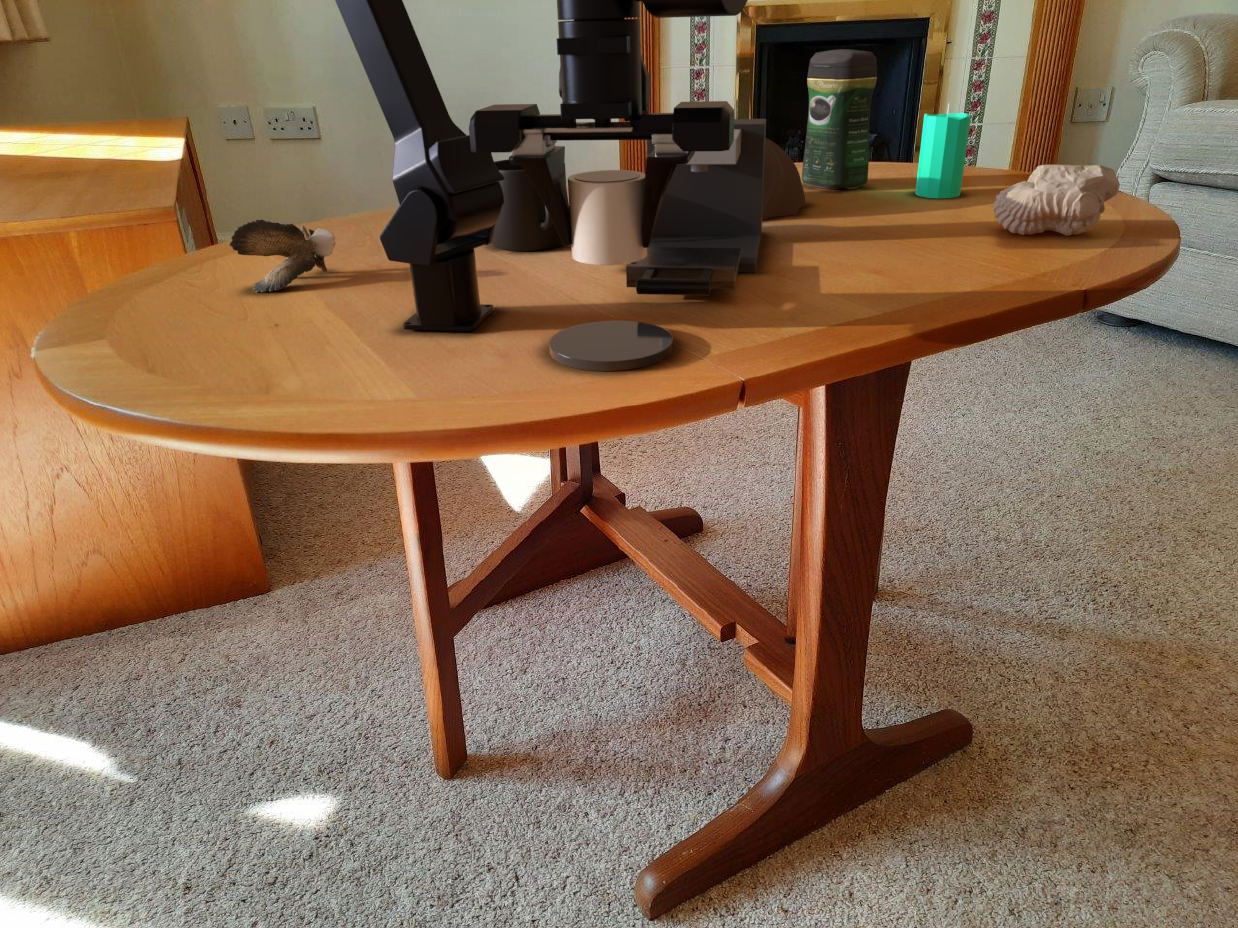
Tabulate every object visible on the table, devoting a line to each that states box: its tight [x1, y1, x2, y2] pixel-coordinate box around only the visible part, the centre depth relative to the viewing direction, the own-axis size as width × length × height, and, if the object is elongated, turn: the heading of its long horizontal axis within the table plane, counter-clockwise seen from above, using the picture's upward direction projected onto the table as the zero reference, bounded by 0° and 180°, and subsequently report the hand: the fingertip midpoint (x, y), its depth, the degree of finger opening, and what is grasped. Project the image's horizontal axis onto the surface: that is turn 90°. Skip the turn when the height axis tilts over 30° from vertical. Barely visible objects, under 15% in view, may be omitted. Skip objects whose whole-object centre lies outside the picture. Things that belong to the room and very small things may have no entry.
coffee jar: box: [801, 48, 878, 190], centre depth 129 cm, size 10×8×19 cm
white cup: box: [567, 169, 648, 266], centre depth 68 cm, size 6×6×6 cm
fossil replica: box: [992, 163, 1120, 237], centre depth 100 cm, size 12×8×10 cm
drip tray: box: [625, 247, 742, 296], centre depth 85 cm, size 18×10×2 cm, turn 170°
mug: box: [491, 158, 567, 252], centre depth 103 cm, size 9×12×9 cm
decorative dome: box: [762, 137, 807, 221], centre depth 119 cm, size 19×20×10 cm
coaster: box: [548, 320, 674, 372], centre depth 72 cm, size 10×10×1 cm
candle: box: [914, 102, 972, 199], centre depth 122 cm, size 6×6×12 cm
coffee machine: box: [629, 118, 767, 274], centre depth 97 cm, size 18×13×13 cm
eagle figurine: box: [228, 219, 336, 293], centre depth 93 cm, size 8×7×9 cm
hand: (607, 246), depth 68 cm, fingers closed on white cup, 6 cm apart
